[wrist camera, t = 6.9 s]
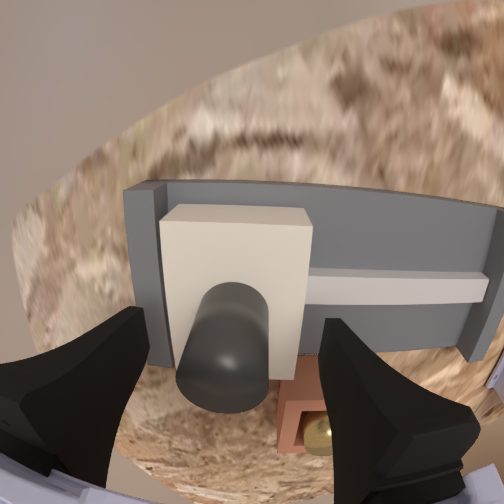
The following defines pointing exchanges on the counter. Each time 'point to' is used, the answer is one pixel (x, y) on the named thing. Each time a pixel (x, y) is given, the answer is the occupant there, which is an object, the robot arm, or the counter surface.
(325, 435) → the button
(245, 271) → the carriage
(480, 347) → the rail
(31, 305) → the counter surface
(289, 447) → the box
